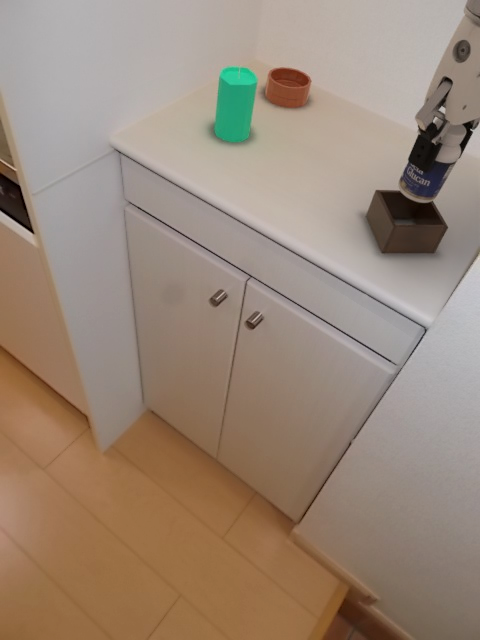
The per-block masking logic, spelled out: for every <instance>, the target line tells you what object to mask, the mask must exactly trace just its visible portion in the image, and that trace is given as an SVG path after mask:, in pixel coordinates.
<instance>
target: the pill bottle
mask: <svg viewBox="0 0 480 640" xmlns="http://www.w3.org/2000/svg"><path fill="white" fill-rule="evenodd" d="M433 123H435V124H436V126H437V129H439V127H440V126H441V124H442V123H443V121H442V120H441V119H439V118H437V117H436V118H435V119H434V121H433ZM465 135H466V128H465V127H464V126H463V125H462V124H460V125H452V124H451V126H450V127H449V129H448V130H447V132H446V133H445V135H444V137H443V138H442V140H441V141H440V143H442V144H443V145H442V147H441V149H440V151H439V153H438V155H437V158H436V160H435V162H434V164H433V166H432V168H431V170H430V171H429V172H427V173H424V172H423V171H421V170H420V169H418V168H417V167H416V166H414V165H413V164H411V163H410V162H409V161H408V160H407V163H406V165H405V167H404V168H403V169H404V170H403V171H402V173H401V175H400V178H399V180H398V183H397V184H398V185H397V187H398V189H399V190H400V191H401V193H402V194H403V195H405V196H406V197H407V198H409V199H411V200H413V201H416V202H420V203H428V202H431V201H433V202H434V200H436V198H437V196H438V195H439V193H440V191H441V190H442V188H443V186H444V184H445V183H446V182H447V179H448V178H449V176H450V174H451V173H452V170H453V169H454V167H455V166H456V163H457V162H458V160H459V159H460V158H461V157H460V154H461V148H460V145H459V144H460V143H461V142H462V140H463V138H464V137H465ZM459 157H460V158H459ZM458 158H459V159H458Z"/></svg>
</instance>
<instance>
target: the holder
mask: <svg viewBox="0 0 480 640" xmlns="http://www.w3.org/2000/svg"><path fill="white" fill-rule="evenodd" d="M365 219H366V221H367V223H368V226H369V228H370V230H371V232H372V234H373V237H374V239H375V241H376V243H377V246H378V248H379V251H380V253H381V254H435V252H436V251H437V249H438V247H439V246H440V244H441V242H442V240H443V239H444V236H445V235H446V233H447V231H448V229H449V225H448V224H447V222H446V220H445V219H444V217H443V215H442V214H441V212H440V210H439V209H438V207H437V205H436V204H435V201H434V200H433V201H431V202H428V203H420V202H416V201H413V200H411V199H409V198H407V197H406V196H405V195H403V194H402V193H401V191H400V189H399V190H395V189H394V190H393V189H375V191H374V194H373V196H372V199H371V200H370V204H369V205H368V209H367V211H366V214H365ZM395 220H413V221H414V224H396V222H395Z"/></svg>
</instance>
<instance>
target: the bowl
mask: <svg viewBox="0 0 480 640" xmlns="http://www.w3.org/2000/svg"><path fill="white" fill-rule="evenodd" d="M311 86H312V78H311V77H310V75H308V74H307V73H305V72H304V71H301V70H300V69H298V68H297V69H296V68H292V67H286V66H285V67H284V66H283V67H275V68H273V69H270V70H269V71H268V74H267V78H266V84H265V90H264V96H265V98H266V99H267V100H268V101H269V102H270V103H272V104H273V105H276V106H277V107H278V106H279V107H282V108H288V109H296V108H301V107H304V106H305V105H306V104H307V102H308V99H309V95H310V91H311Z"/></svg>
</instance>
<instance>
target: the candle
mask: <svg viewBox="0 0 480 640" xmlns="http://www.w3.org/2000/svg"><path fill="white" fill-rule="evenodd" d="M218 78H219V79H218V86H217V96H216V97H217V98H216V107H215V118H214V120H215V121H214V128H213V132H214V134H215V135H216V137H217V138H218V139H220V140H223V141H224V142H230V143H242V142H244V141H246V140H248V139H249V136H250V133H251V126H252V120H253V114H254V113H253V112H254V108H255V107H254V106H255V102H256V101H255V100H256V94H257V93H256V92H257V88H258V87H257V86H258V81H259V79H258V77H257V75H256V73H255V72H253V70H251V69H250V68H249V67H245V66H244V67H243V66H227V67H224V68H222V69H221V71H220V73H219V76H218Z"/></svg>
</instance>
